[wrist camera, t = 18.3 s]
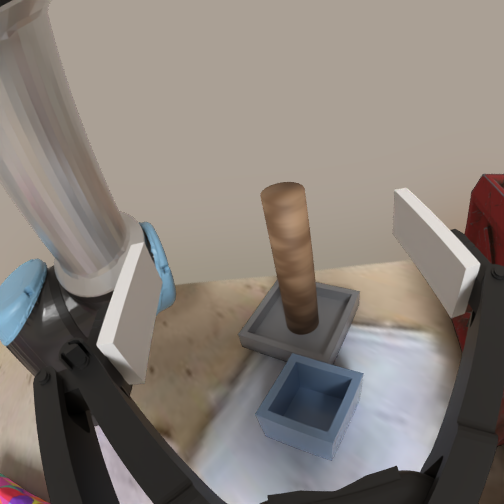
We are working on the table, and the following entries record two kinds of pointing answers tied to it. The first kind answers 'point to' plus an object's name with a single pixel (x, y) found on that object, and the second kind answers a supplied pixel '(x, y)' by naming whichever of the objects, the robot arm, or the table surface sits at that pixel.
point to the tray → (308, 345)
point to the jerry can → (485, 247)
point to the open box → (310, 405)
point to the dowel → (292, 254)
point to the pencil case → (16, 493)
